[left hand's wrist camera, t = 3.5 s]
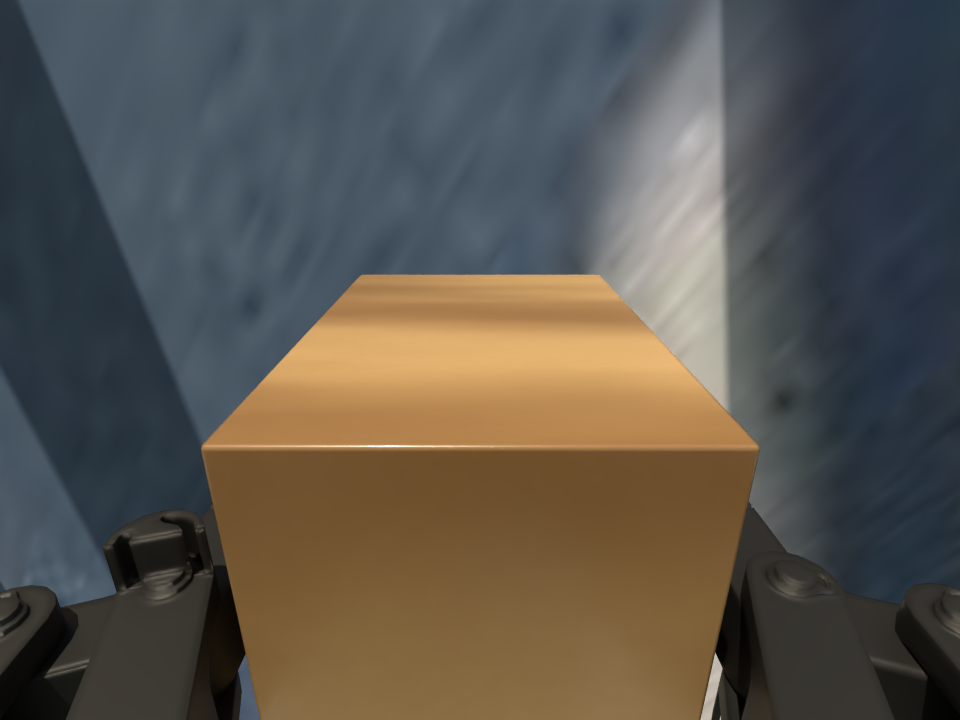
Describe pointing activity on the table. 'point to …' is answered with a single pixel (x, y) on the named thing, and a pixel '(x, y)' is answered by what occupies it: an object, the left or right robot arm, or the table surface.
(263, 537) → the box
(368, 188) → the table surface
